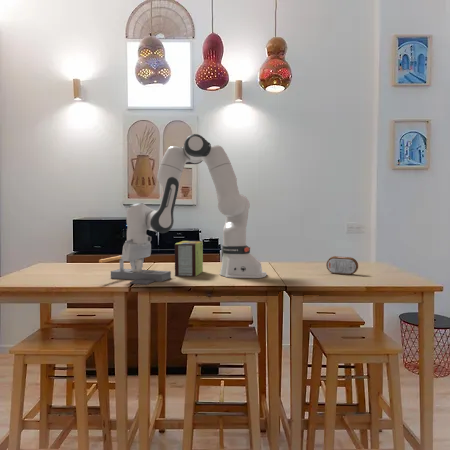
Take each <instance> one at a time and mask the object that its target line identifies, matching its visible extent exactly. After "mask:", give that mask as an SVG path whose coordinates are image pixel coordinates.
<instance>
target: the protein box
mask: <svg viewBox="0 0 450 450" xmlns="http://www.w3.org/2000/svg"><path fill="white" fill-rule="evenodd" d="M203 243H204V242H203V240H201V241H200V240H182V241H179V242H176V243H175V244H174V276H175V277H197V276H198V275H200V274H202V273H203V271H204V270H203V269H204V268H203V267H204V265H203V264H204V259H203V258H204V256H203V255H204V253H203V252H204V251H203V250H204V249H203V245H204V244H203Z"/></svg>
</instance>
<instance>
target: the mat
mask: <svg viewBox="0 0 450 450" xmlns="http://www.w3.org/2000/svg"><path fill="white" fill-rule="evenodd" d="M154 282H156V281H155V280H147V279H138V280H132V281H129V284H132V285H133V284H135V285H146V286H147V285H149V284H151V283H154Z"/></svg>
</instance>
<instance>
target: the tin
mask: <svg viewBox="0 0 450 450" xmlns="http://www.w3.org/2000/svg"><path fill="white" fill-rule="evenodd" d="M326 269H327V271H328V272H329V273H331V274H334V273H335V275H348V276H351V275H354V274H355V273H356V272H357V271H358V269H359V263H358V261H357V260H356V259H355V258H353V257H351V256H338V255H337V256H336V255H334V256H331V257H329V258H328V259H327V261H326Z"/></svg>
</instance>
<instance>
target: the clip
mask: <svg viewBox="0 0 450 450" xmlns="http://www.w3.org/2000/svg"><path fill="white" fill-rule="evenodd" d="M120 259H122V254H121V255H117V256H111V257H107V258H101V259H98V263H99V264H100V263H101V264H102V263H108V262H111V261H112V262H113V261H118V260H120Z"/></svg>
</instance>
